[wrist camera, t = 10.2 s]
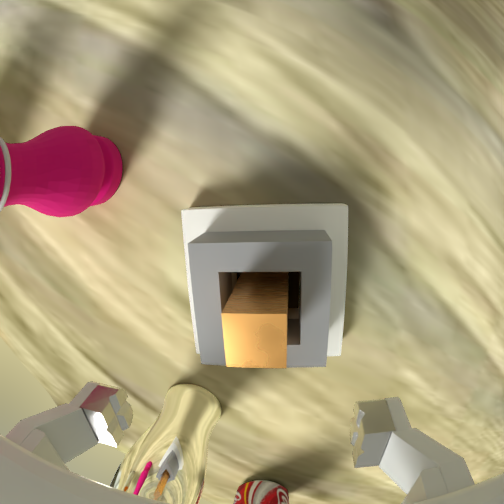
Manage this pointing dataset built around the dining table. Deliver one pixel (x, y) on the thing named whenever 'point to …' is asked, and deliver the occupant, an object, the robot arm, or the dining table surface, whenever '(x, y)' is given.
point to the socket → (269, 260)
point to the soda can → (261, 493)
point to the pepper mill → (59, 171)
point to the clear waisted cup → (172, 449)
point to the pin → (257, 321)
